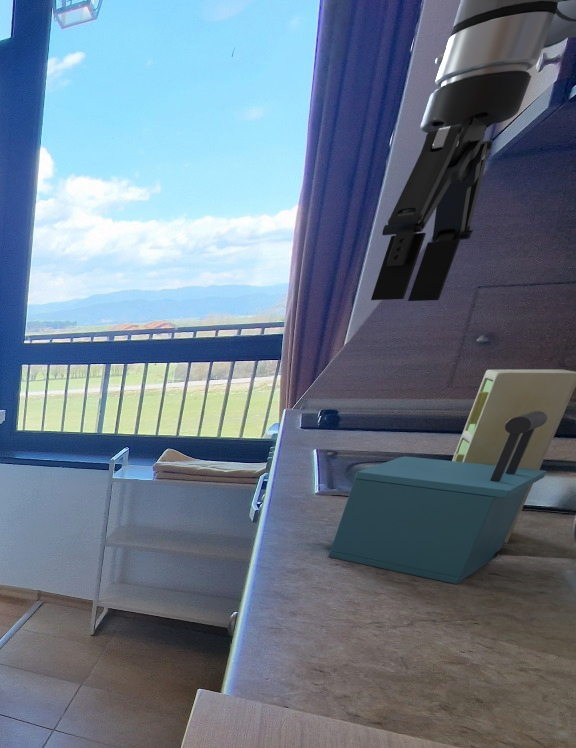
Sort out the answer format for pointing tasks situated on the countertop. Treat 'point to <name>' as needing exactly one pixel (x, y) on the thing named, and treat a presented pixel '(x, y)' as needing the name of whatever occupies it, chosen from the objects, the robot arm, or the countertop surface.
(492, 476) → the lid
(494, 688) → the countertop surface
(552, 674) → the countertop surface
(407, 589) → the countertop surface
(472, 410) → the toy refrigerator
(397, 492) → the teal storage box
